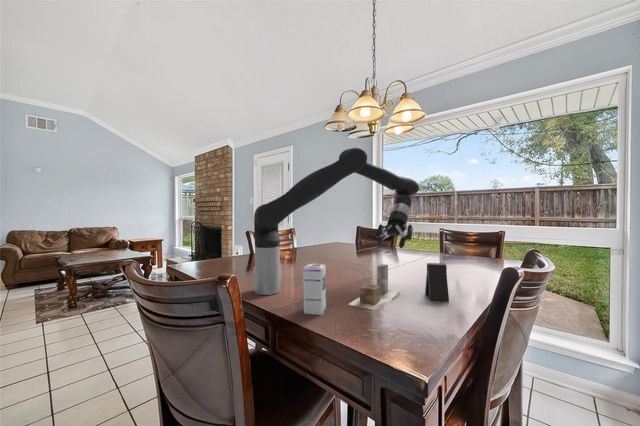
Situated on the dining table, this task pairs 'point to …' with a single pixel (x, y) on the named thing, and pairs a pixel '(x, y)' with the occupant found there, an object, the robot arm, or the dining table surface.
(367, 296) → the walnut block
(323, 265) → the syrup box
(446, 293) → the door stopper
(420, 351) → the dining table surface
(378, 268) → the pale base with post
